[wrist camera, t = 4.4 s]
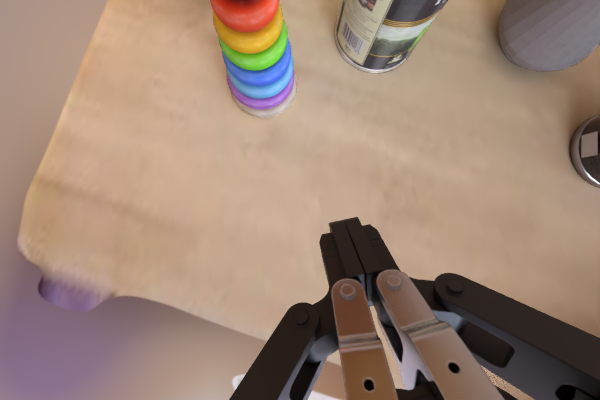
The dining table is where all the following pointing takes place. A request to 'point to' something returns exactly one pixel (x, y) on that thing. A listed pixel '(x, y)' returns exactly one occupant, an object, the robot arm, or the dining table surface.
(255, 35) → the stacking toy
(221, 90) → the dining table surface
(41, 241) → the dining table surface
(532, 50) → the coffee pot
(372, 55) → the coffee can
